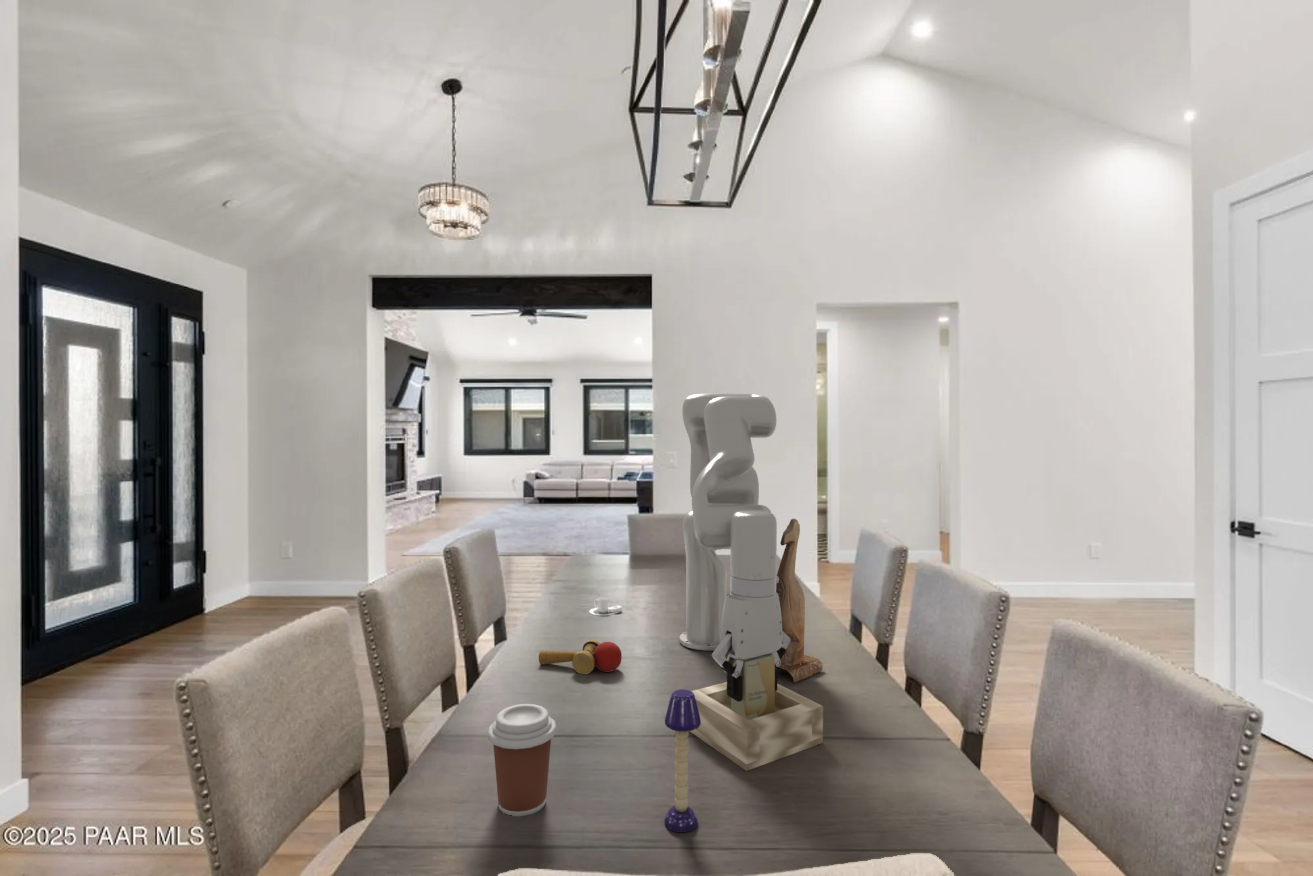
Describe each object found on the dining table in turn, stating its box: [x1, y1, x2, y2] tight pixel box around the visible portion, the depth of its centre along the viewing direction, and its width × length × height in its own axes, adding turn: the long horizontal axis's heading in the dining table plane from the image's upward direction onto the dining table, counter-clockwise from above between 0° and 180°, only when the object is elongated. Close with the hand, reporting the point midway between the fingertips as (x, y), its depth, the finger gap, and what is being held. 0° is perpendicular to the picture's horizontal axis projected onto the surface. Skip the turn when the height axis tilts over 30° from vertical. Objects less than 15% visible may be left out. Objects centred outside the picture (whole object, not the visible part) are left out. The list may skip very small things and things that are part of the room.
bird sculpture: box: [776, 518, 824, 683], centre depth 135 cm, size 11×12×32 cm
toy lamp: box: [664, 688, 701, 833], centre depth 83 cm, size 5×5×17 cm
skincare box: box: [731, 654, 775, 720], centre depth 107 cm, size 6×4×12 cm
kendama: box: [538, 639, 622, 675], centre depth 136 cm, size 8×6×18 cm
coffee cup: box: [487, 703, 557, 818], centre depth 87 cm, size 9×9×12 cm
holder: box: [689, 681, 824, 772], centre depth 106 cm, size 16×16×6 cm
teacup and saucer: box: [588, 596, 623, 617], centre depth 177 cm, size 9×8×4 cm
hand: (752, 692), depth 106 cm, fingers open, 6 cm apart
